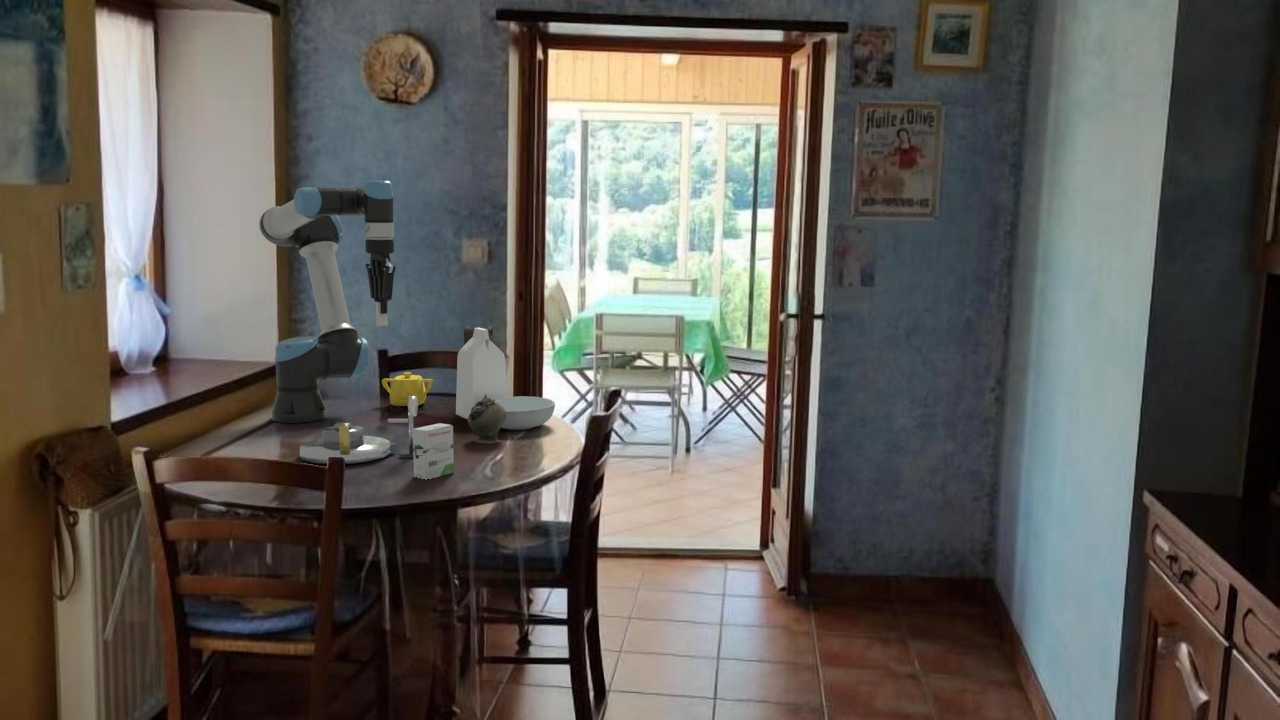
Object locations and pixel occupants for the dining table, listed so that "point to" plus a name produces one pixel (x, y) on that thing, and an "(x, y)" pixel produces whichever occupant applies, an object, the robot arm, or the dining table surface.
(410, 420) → the rod on square base
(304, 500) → the dining table surface
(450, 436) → the ink box
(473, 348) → the milk
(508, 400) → the serving bowl
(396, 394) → the teapot
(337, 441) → the cover
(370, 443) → the turntable
